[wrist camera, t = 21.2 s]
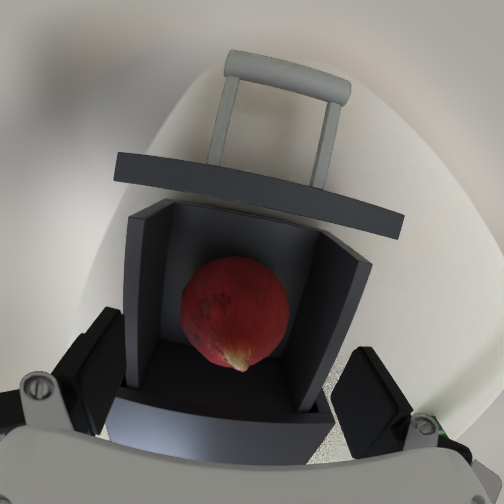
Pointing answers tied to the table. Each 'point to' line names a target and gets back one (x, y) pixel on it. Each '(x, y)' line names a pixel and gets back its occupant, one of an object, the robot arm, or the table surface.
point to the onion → (234, 311)
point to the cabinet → (217, 430)
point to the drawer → (250, 246)
